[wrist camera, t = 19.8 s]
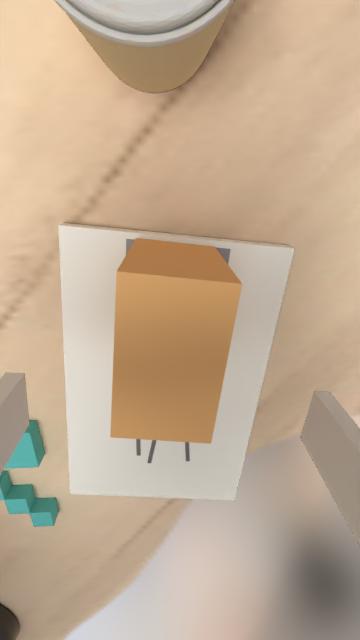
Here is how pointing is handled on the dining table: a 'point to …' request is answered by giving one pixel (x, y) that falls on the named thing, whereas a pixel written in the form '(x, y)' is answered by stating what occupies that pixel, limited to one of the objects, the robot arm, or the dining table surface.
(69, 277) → the painted board
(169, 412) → the tan rectangular block
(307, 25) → the dining table surface
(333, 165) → the dining table surface
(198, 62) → the coffee cup
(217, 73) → the dining table surface
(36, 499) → the alien figure
